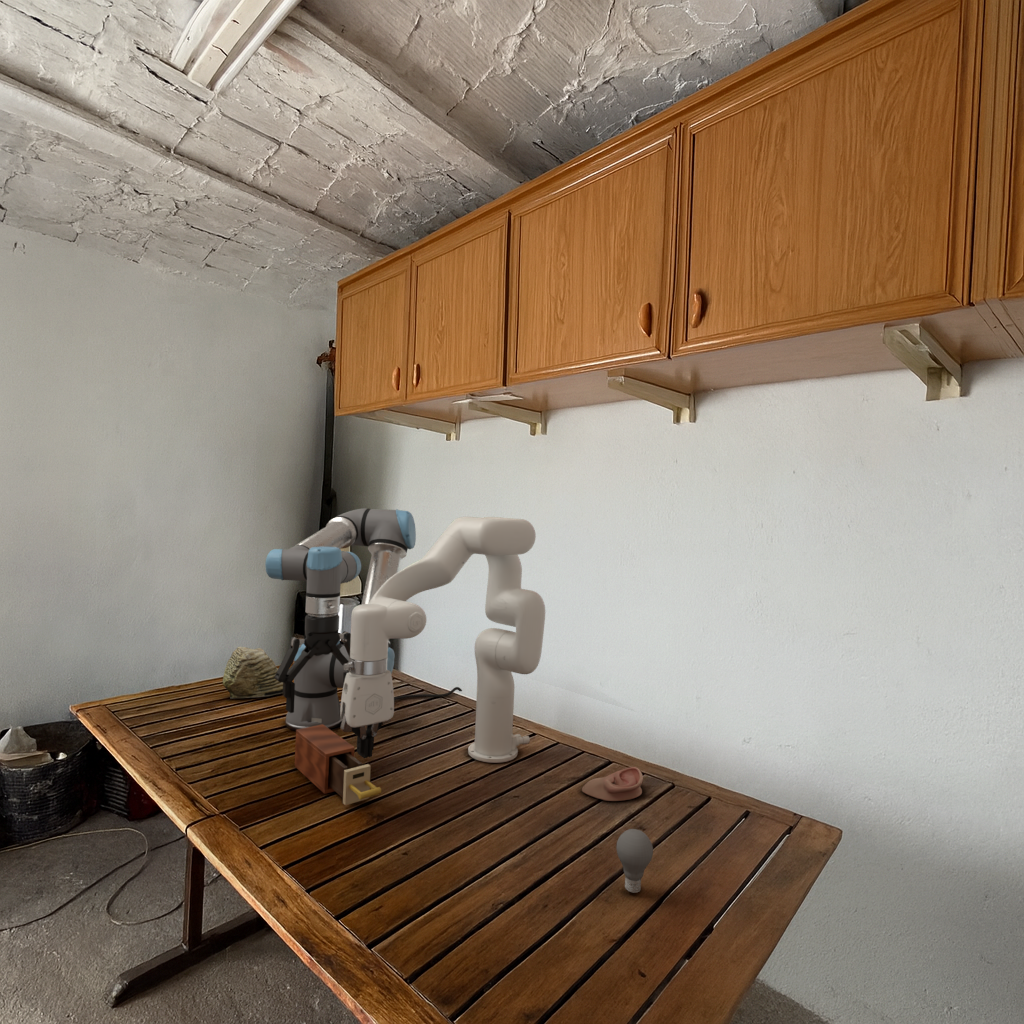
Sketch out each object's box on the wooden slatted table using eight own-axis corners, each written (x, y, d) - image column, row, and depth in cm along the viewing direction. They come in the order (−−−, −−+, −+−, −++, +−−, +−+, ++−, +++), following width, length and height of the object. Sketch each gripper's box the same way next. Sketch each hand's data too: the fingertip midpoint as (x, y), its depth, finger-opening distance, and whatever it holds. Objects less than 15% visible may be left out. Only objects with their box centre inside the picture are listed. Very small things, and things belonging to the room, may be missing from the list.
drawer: (382, 809, 128) (384, 775, 128) (357, 817, 124) (359, 782, 124) (336, 771, 144) (338, 741, 144) (313, 777, 141) (315, 746, 141)
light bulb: (610, 879, 108) (613, 822, 108) (644, 879, 109) (647, 822, 109) (619, 902, 102) (622, 840, 102) (655, 901, 103) (658, 840, 103)
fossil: (218, 695, 195) (220, 647, 195) (278, 685, 208) (279, 640, 207) (228, 703, 189) (230, 653, 188) (289, 692, 201) (290, 645, 201)
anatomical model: (581, 779, 138) (585, 758, 149) (580, 797, 138) (585, 775, 149) (643, 787, 135) (643, 766, 147) (642, 806, 136) (642, 783, 147)
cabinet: (353, 786, 139) (354, 747, 139) (324, 794, 135) (326, 754, 135) (321, 759, 152) (323, 724, 152) (294, 766, 148) (295, 729, 148)
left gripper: (274, 621, 135) (270, 720, 135) (379, 612, 151) (375, 700, 151) (261, 616, 141) (258, 710, 141) (364, 607, 157) (360, 692, 157)
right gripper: (342, 675, 121) (338, 771, 121) (410, 665, 131) (406, 753, 131) (325, 666, 127) (322, 757, 127) (391, 657, 136) (388, 741, 137)
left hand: (319, 705), depth 146 cm, fingers open, 13 cm apart
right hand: (364, 755), depth 129 cm, fingers closed
